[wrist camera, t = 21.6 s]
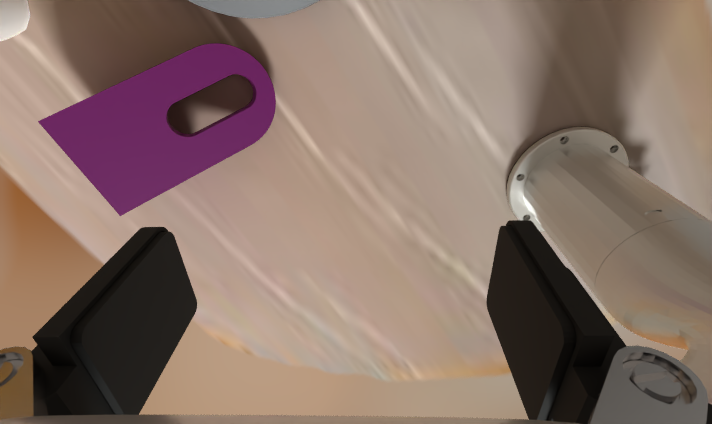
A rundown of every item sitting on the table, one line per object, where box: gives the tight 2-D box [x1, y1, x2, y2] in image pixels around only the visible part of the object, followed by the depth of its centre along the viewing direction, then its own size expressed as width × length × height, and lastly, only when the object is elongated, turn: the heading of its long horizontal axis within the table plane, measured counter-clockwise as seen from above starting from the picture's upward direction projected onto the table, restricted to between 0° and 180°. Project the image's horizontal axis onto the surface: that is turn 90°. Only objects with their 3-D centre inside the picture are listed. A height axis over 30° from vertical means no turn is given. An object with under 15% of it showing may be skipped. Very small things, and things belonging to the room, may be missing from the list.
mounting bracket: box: [38, 43, 276, 216], centre depth 36 cm, size 9×8×18 cm
